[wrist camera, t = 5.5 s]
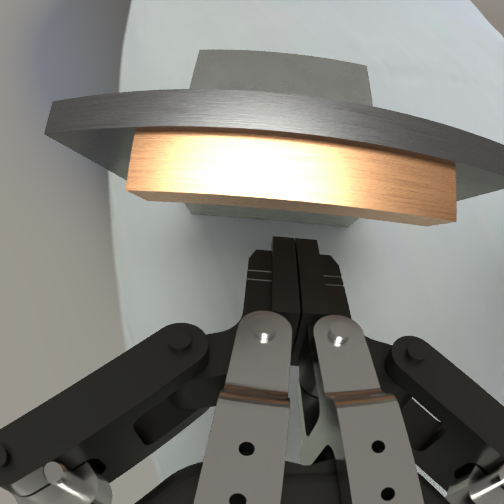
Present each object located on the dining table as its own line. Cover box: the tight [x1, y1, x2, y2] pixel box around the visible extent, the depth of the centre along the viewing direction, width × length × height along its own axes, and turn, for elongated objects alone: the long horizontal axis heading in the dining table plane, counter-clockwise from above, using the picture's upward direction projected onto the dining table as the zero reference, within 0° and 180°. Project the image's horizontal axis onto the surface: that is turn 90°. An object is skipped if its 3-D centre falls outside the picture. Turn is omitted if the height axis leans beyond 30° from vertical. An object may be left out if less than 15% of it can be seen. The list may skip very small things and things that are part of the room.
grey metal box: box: [185, 50, 373, 227], centre depth 29 cm, size 16×14×9 cm
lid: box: [44, 89, 504, 226], centre depth 15 cm, size 17×15×3 cm
